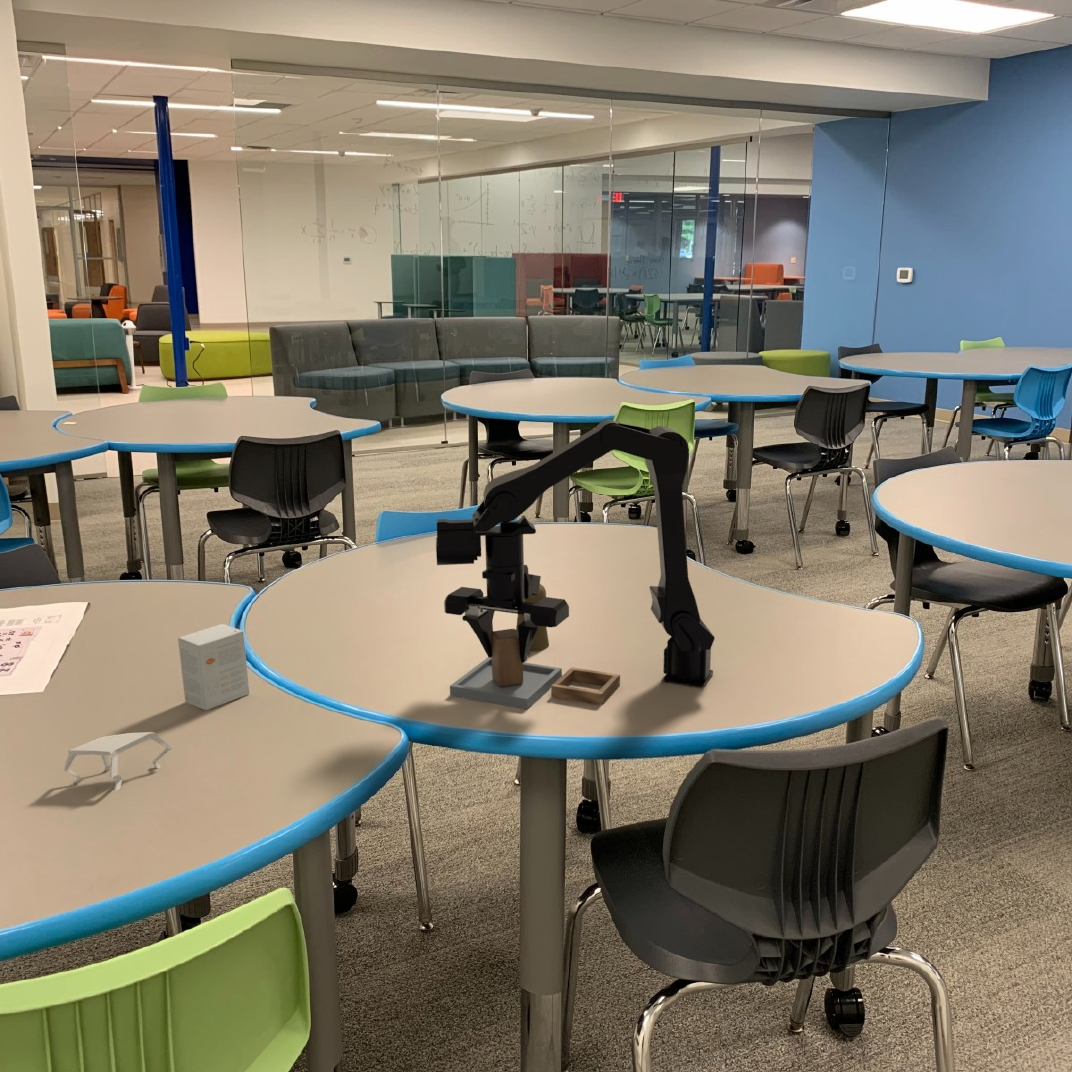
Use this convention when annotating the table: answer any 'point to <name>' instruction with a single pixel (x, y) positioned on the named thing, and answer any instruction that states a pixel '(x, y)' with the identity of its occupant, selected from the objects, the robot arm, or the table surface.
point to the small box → (213, 666)
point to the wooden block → (506, 658)
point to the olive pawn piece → (541, 634)
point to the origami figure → (113, 751)
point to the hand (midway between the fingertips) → (507, 659)
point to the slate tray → (522, 695)
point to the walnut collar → (584, 695)
